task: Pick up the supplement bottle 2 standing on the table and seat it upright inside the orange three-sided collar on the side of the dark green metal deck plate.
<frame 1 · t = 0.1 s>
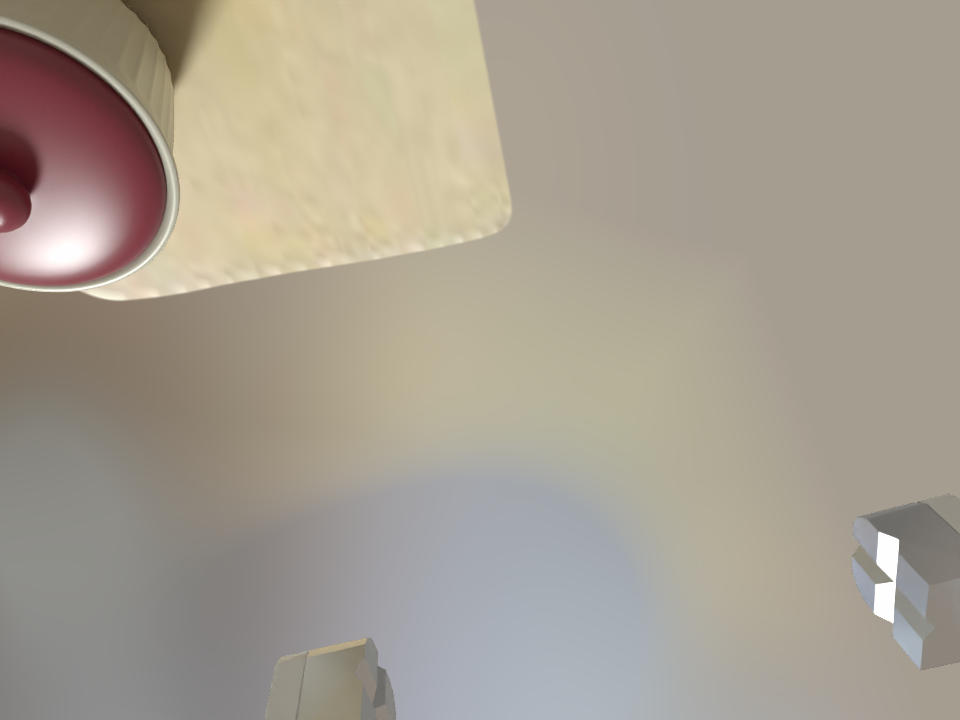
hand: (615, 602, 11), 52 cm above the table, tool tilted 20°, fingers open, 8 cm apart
canister: (79, 59, 52), on the table
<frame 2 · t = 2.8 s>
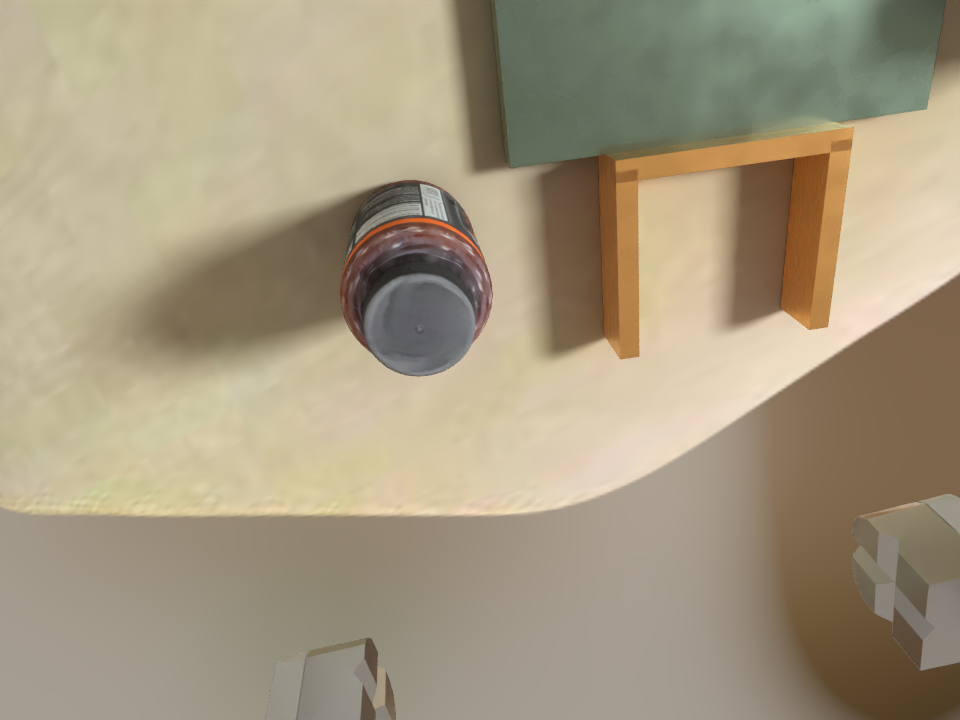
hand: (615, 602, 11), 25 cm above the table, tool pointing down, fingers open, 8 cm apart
supplement bottle 2: (411, 235, 34), on the table
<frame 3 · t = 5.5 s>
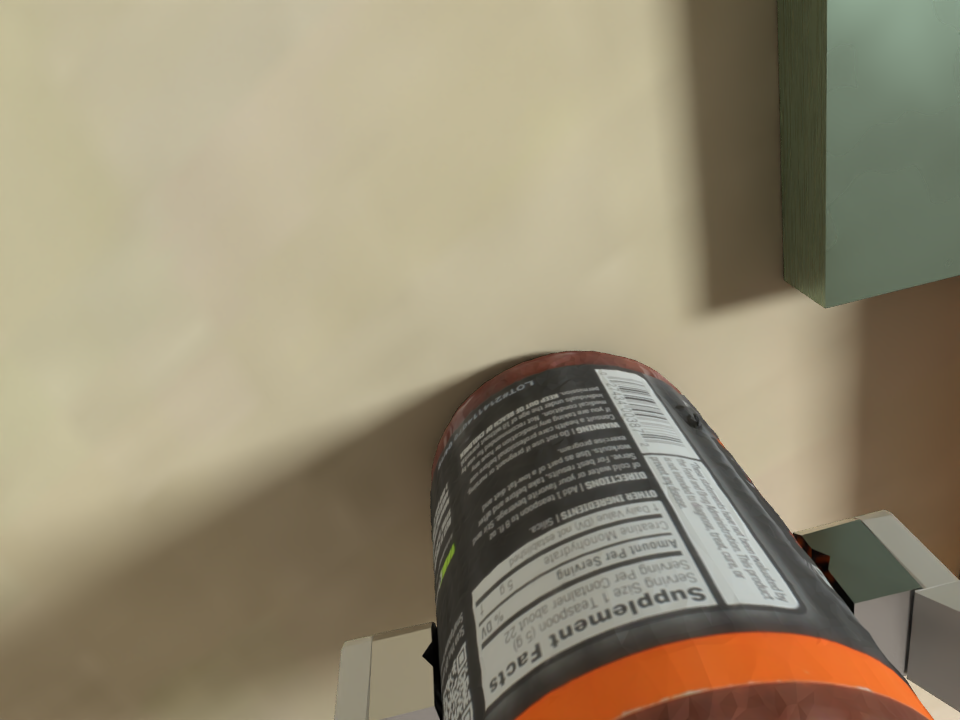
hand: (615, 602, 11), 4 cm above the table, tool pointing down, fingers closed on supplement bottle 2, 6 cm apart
supplement bottle 2: (562, 456, 15), on the table, touching gripper
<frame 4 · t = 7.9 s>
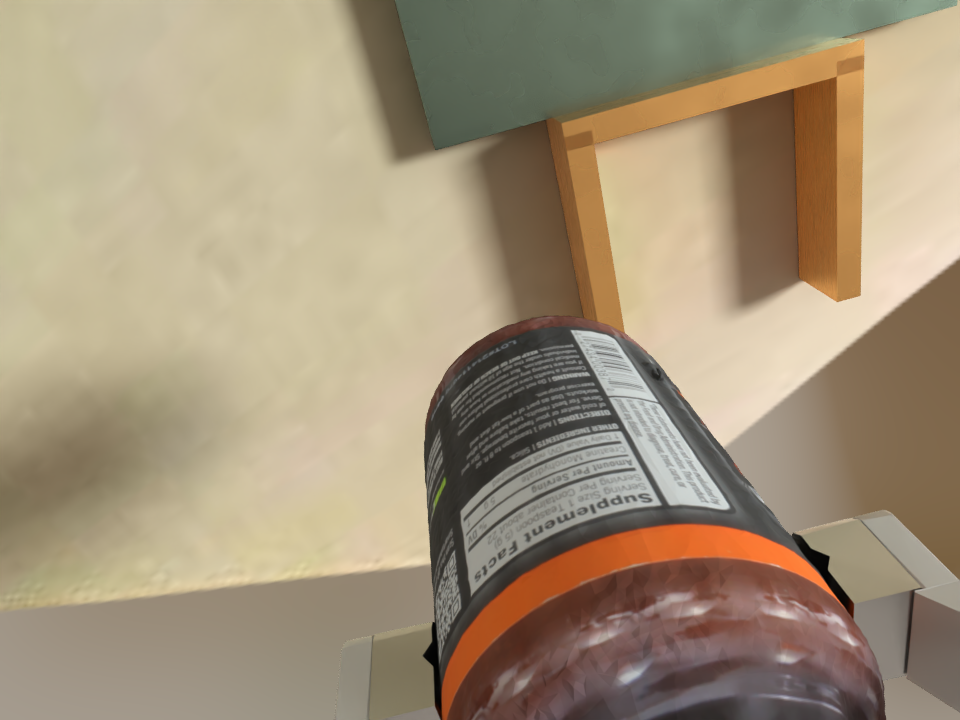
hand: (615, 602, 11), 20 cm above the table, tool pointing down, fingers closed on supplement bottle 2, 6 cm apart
supplement bottle 2: (543, 414, 17), point 14 cm above the table, touching gripper
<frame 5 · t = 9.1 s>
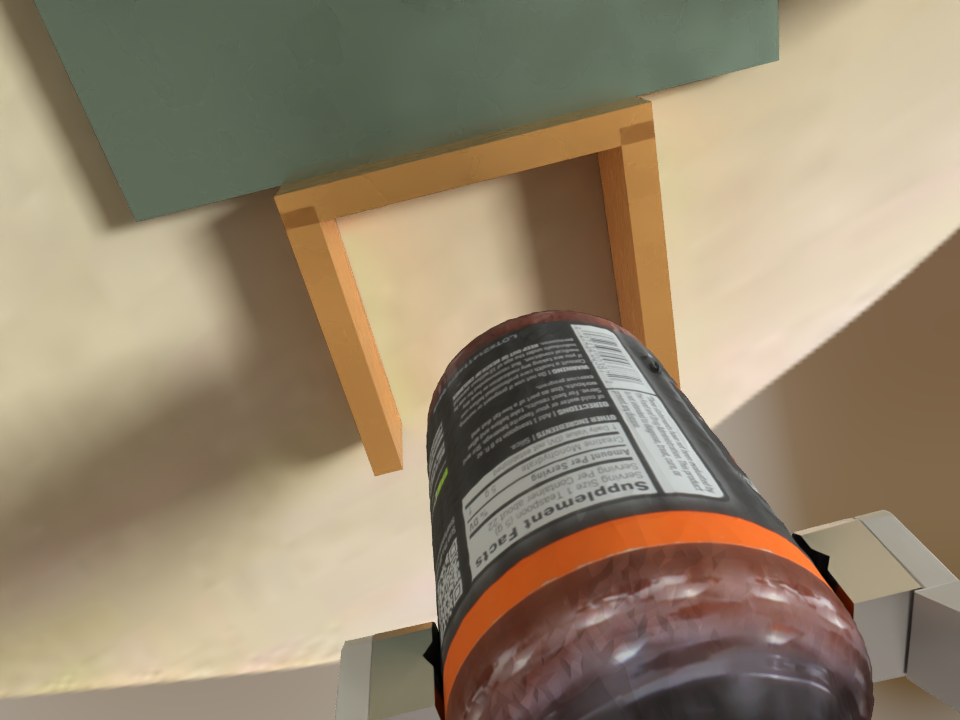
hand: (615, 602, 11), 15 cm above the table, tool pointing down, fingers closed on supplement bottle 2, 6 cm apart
supplement bottle 2: (543, 407, 17), point 8 cm above the table, touching gripper
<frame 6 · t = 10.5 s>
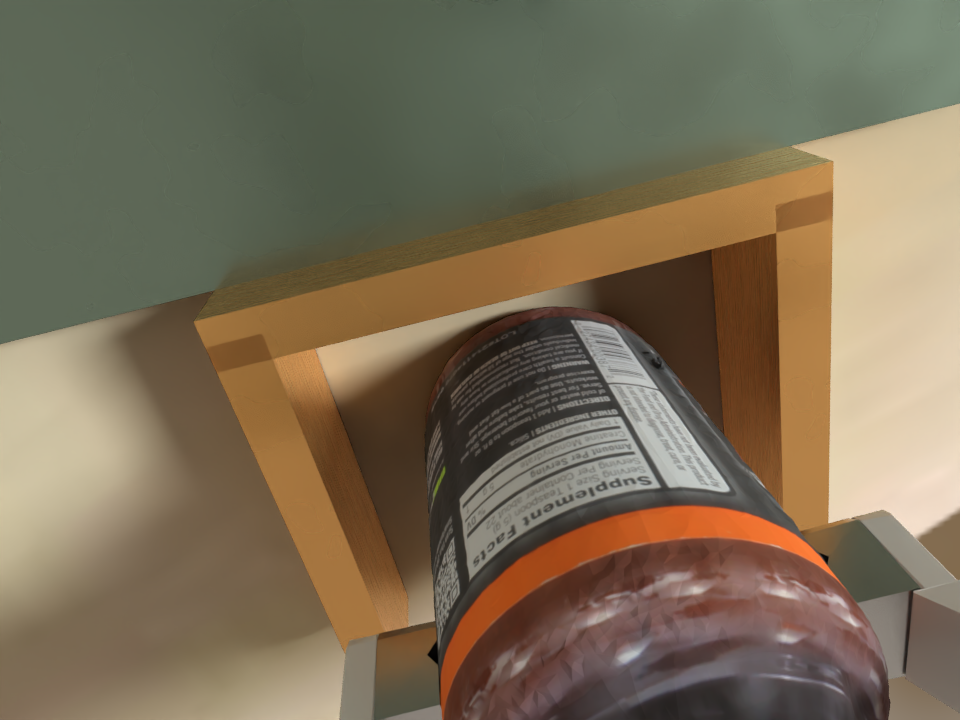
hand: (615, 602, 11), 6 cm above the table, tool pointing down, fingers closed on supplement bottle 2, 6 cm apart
supplement bottle 2: (544, 406, 17), on the table, touching gripper
when the fingers open (6 cm above the table, at t = 10.9 s): supplement bottle 2 stays where it is, on the table.
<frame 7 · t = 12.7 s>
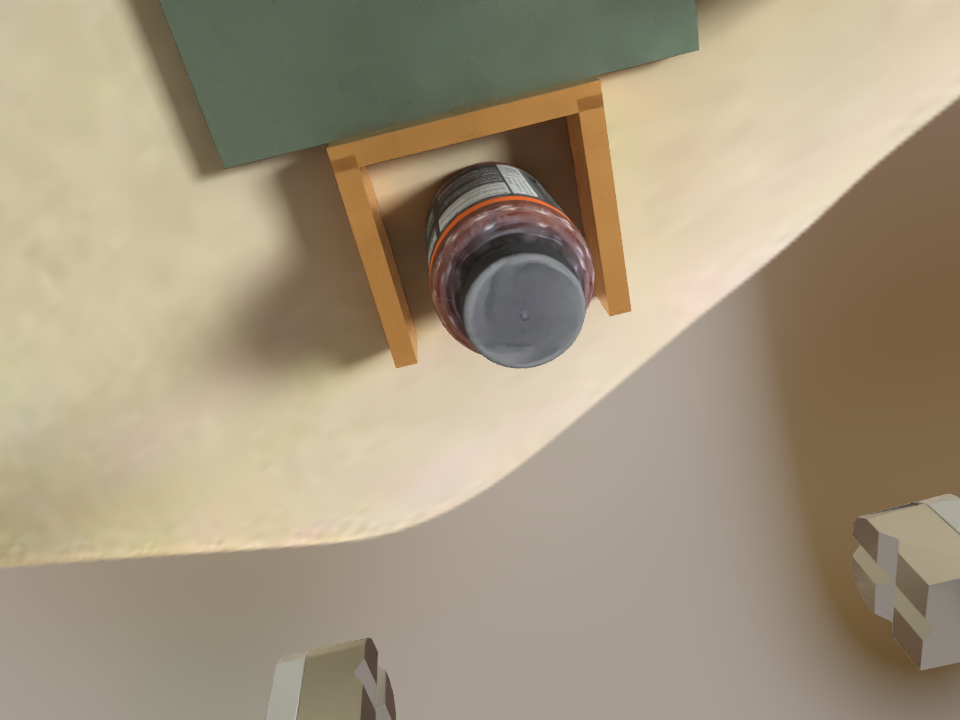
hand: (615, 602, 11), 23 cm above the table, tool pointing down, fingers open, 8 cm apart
supplement bottle 2: (489, 222, 32), on the table
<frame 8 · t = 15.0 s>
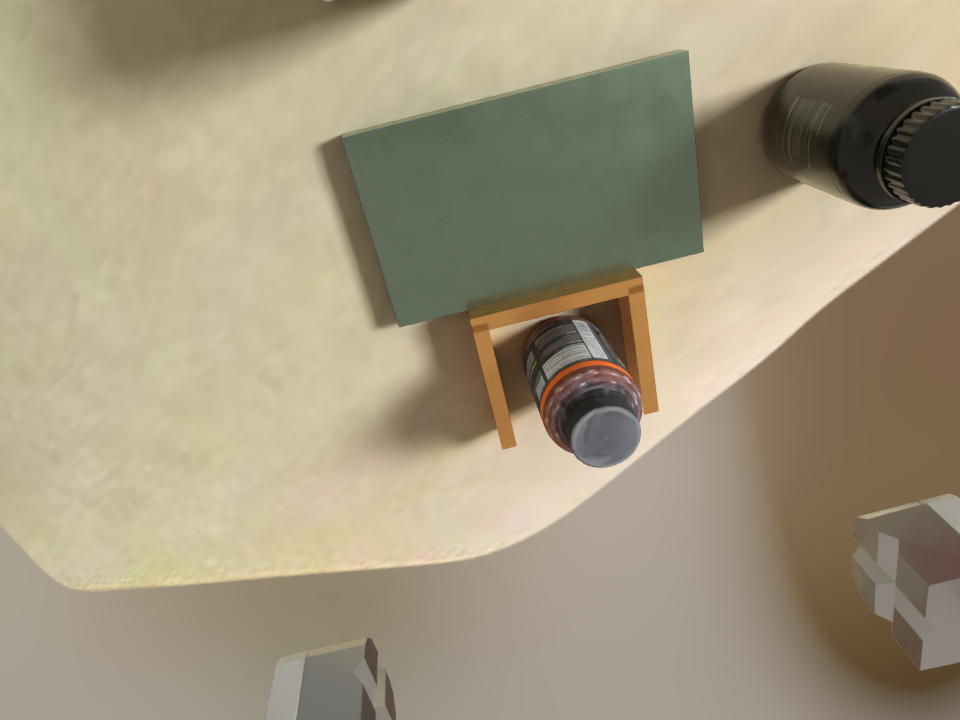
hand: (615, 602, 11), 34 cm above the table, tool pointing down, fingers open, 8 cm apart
supplement bottle: (811, 121, 43), on the table
supplement bottle 2: (562, 350, 48), on the table
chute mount: (529, 192, 43), on the table
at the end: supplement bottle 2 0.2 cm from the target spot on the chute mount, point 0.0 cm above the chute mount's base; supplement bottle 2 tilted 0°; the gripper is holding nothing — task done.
